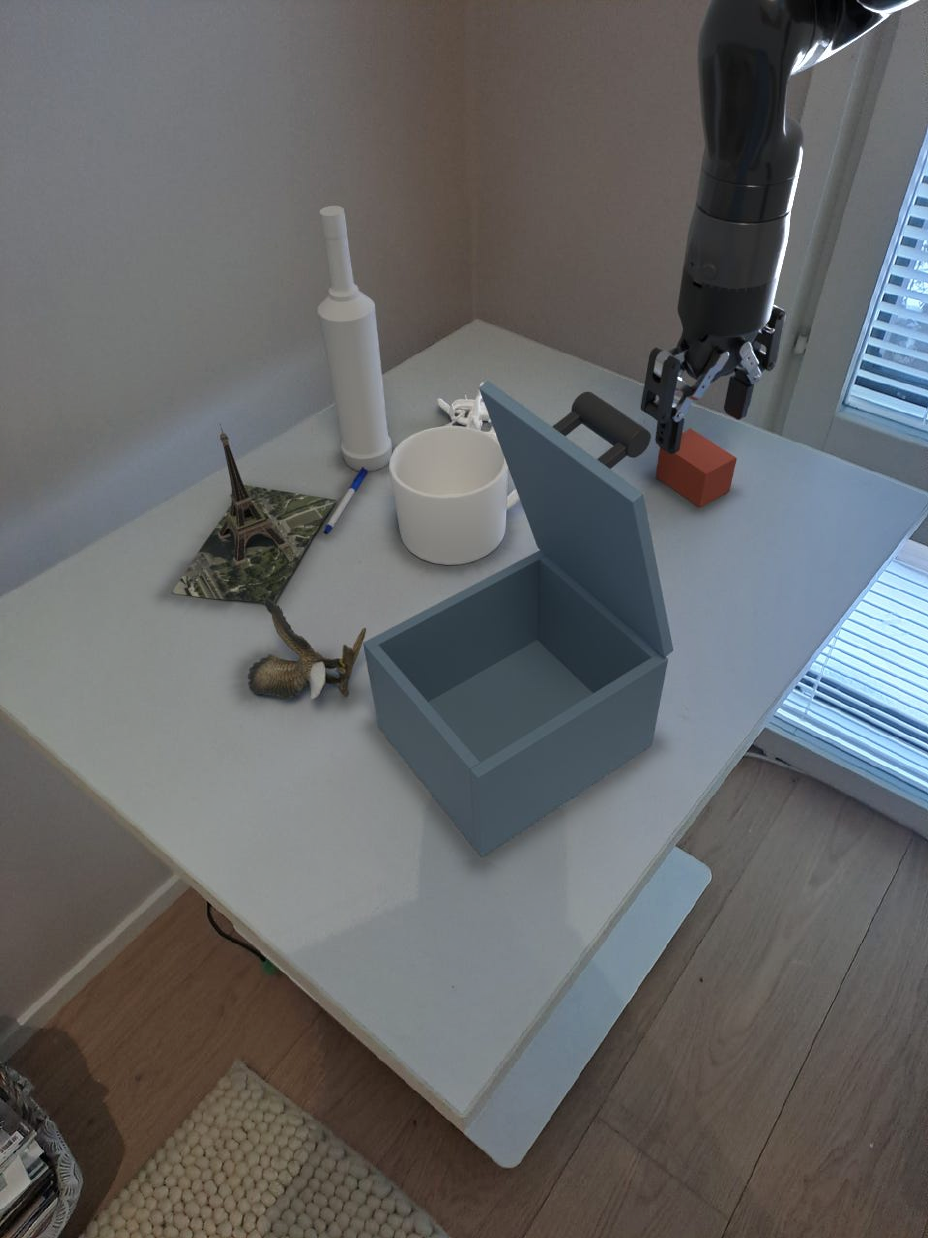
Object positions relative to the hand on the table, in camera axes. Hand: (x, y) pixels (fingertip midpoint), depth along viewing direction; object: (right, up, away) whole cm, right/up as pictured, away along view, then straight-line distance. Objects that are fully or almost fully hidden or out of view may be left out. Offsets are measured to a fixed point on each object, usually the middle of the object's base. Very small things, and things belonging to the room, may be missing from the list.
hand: (701, 431), depth 83 cm
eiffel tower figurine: (-41, -11, +1) cm, 43 cm away
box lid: (-15, -12, -27) cm, 33 cm away
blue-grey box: (-18, -26, -15) cm, 35 cm away
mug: (-22, -9, +1) cm, 23 cm away
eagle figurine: (-35, -22, -10) cm, 43 cm away
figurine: (-21, +3, +13) cm, 24 cm away
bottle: (-32, -1, +10) cm, 33 cm away
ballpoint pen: (-33, -6, +5) cm, 34 cm away
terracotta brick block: (0, -4, +4) cm, 6 cm away
